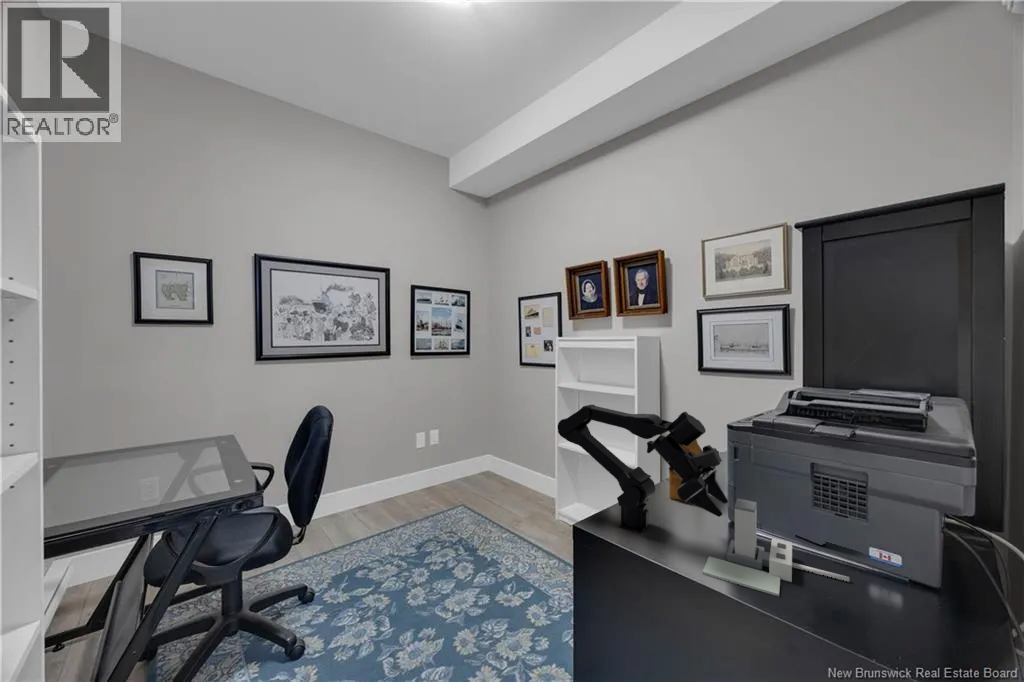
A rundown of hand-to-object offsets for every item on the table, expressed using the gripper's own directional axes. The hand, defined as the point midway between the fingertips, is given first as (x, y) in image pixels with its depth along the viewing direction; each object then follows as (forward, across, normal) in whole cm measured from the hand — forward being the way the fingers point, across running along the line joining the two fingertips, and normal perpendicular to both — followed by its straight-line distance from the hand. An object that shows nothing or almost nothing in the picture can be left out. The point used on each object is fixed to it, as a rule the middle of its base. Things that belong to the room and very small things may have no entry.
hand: (723, 508), depth 99 cm
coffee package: (-3, +31, +18) cm, 36 cm away
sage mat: (+10, -9, +4) cm, 15 cm away
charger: (+10, 0, +4) cm, 11 cm away
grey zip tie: (+16, 0, -1) cm, 16 cm away
